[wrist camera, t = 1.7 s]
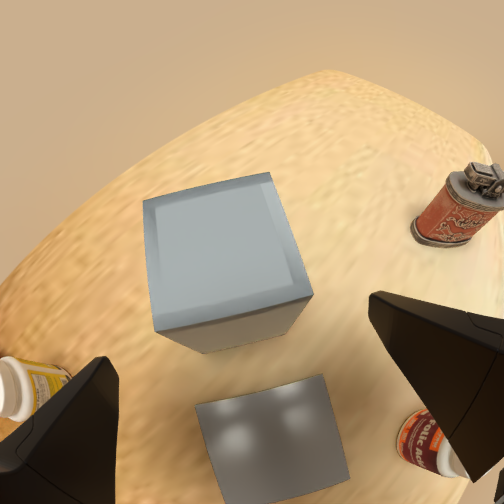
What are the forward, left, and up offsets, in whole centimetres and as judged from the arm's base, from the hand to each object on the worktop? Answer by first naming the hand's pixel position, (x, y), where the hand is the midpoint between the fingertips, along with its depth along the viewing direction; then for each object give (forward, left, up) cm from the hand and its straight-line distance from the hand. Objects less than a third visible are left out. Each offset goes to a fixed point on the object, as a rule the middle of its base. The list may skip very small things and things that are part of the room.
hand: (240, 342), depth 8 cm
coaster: (-7, +1, -11) cm, 13 cm away
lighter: (+3, -21, -11) cm, 24 cm away
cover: (+4, 0, -11) cm, 12 cm away
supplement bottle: (+1, +17, -11) cm, 20 cm away
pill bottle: (-12, -10, -11) cm, 19 cm away
